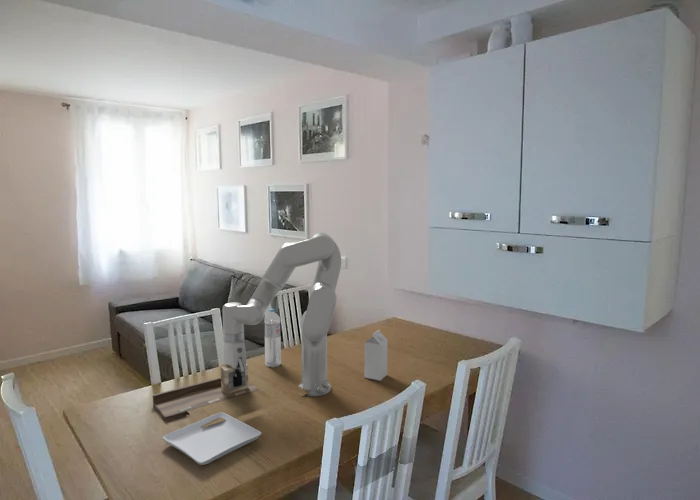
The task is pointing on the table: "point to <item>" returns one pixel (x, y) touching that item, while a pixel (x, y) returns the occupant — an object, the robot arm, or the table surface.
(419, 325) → the table surface
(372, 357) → the milk carton
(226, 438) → the salad plate
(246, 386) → the picture frame
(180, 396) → the picture ledge
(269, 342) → the water bottle
